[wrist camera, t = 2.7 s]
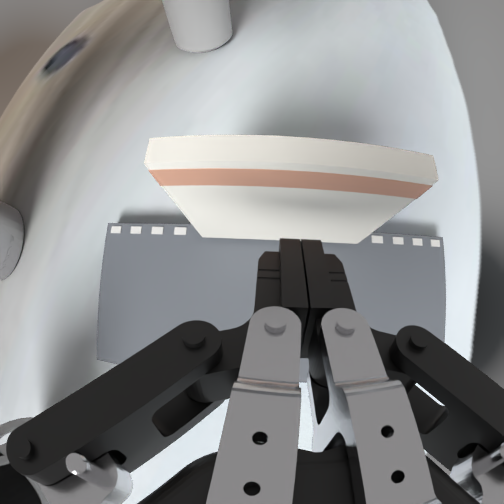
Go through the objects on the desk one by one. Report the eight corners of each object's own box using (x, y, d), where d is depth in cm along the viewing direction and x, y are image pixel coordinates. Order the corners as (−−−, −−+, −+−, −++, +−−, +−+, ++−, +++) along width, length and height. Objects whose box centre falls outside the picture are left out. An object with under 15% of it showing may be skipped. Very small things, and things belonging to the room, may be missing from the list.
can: (168, 41, 30) (145, -26, 18) (216, 20, 31) (205, -46, 19) (191, 64, 29) (169, -15, 17) (244, 41, 29) (238, -35, 18)
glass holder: (35, 451, 20) (-47, 488, 6) (59, 367, 22) (-58, 386, 8) (91, 498, 19) (20, 560, 4) (126, 421, 21) (22, 492, 7)
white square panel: (202, 237, 22) (143, 163, 11) (203, 222, 23) (149, 137, 11) (357, 244, 22) (439, 180, 10) (356, 228, 22) (433, 155, 10)
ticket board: (105, 357, 23) (96, 359, 21) (115, 227, 25) (107, 222, 23) (433, 368, 21) (442, 371, 20) (434, 241, 24) (443, 237, 22)
